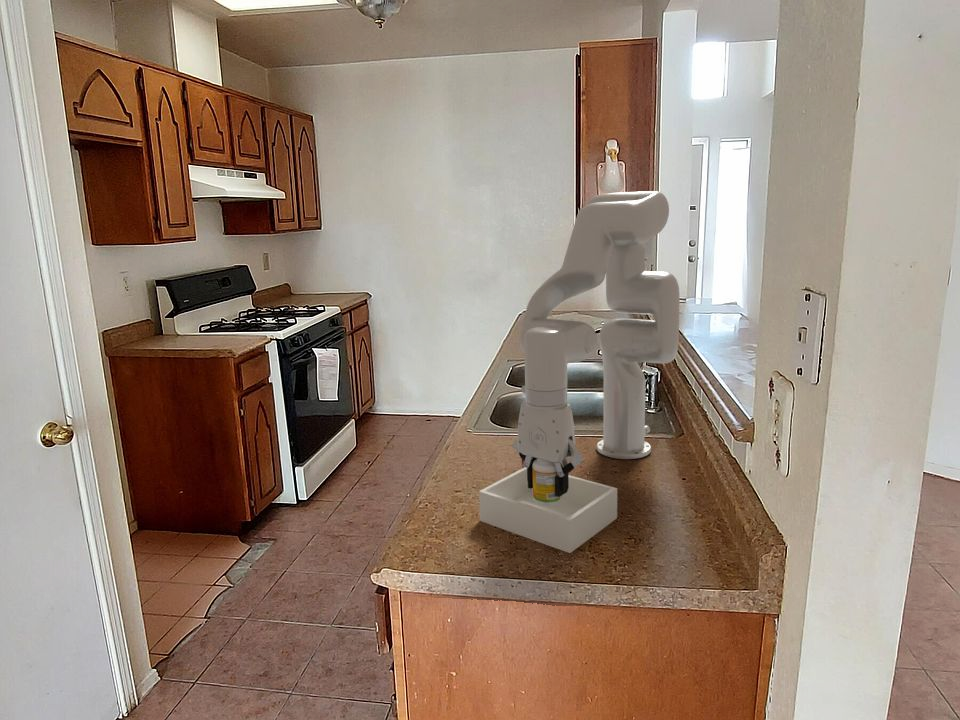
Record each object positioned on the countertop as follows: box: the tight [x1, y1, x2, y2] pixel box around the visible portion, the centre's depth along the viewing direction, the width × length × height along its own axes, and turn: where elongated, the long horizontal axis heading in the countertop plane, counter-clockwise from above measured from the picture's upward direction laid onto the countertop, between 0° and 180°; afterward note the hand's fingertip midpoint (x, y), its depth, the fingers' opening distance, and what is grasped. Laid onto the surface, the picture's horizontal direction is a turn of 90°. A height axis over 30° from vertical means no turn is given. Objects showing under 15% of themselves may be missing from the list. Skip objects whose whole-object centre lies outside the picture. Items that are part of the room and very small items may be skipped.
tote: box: [478, 467, 618, 554], centre depth 122 cm, size 16×20×6 cm
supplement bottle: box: [533, 459, 562, 505], centre depth 121 cm, size 5×5×10 cm
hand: (547, 489), depth 121 cm, fingers closed on supplement bottle, 5 cm apart
